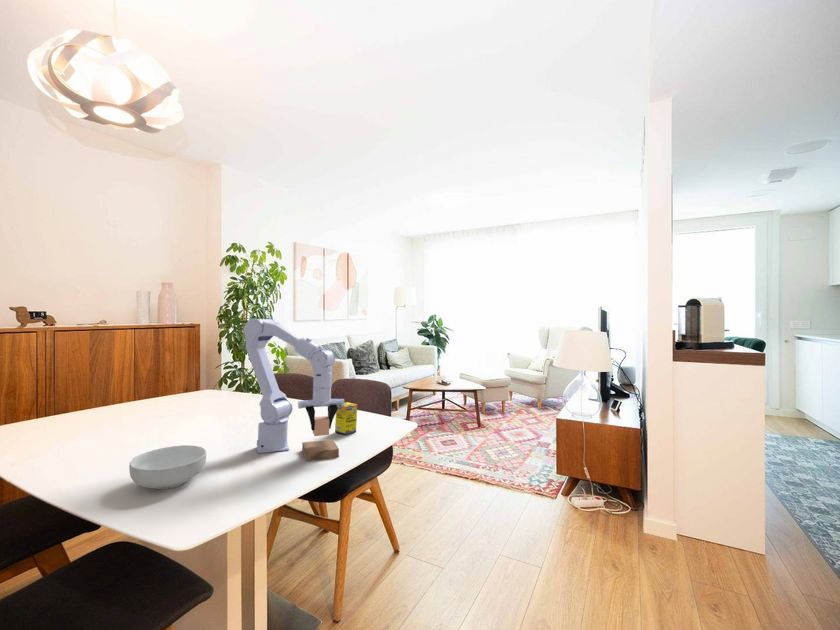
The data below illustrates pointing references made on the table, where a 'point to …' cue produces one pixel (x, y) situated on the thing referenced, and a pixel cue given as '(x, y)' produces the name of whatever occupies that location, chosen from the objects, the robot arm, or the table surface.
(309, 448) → the walnut base
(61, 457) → the table surface
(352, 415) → the supplement box
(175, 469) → the cereal bowl
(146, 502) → the table surface
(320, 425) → the terracotta block
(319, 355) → the robot arm
